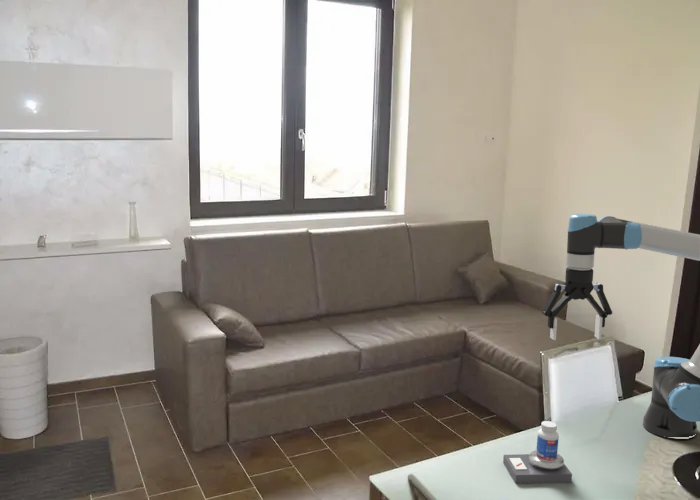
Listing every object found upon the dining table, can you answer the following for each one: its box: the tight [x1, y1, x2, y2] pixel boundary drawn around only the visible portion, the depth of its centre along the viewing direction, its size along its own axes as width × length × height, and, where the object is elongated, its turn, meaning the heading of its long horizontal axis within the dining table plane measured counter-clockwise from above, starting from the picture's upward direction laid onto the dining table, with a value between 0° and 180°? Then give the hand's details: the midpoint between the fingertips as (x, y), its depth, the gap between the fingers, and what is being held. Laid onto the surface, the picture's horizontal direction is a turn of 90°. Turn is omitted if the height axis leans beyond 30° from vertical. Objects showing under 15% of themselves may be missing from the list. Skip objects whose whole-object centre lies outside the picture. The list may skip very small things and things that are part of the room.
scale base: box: [502, 453, 573, 484], centre depth 172 cm, size 15×11×3 cm
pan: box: [529, 450, 565, 470], centre depth 171 cm, size 9×9×1 cm
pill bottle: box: [535, 420, 560, 462], centre depth 170 cm, size 6×5×10 cm
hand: (575, 338), depth 187 cm, fingers open, 13 cm apart
